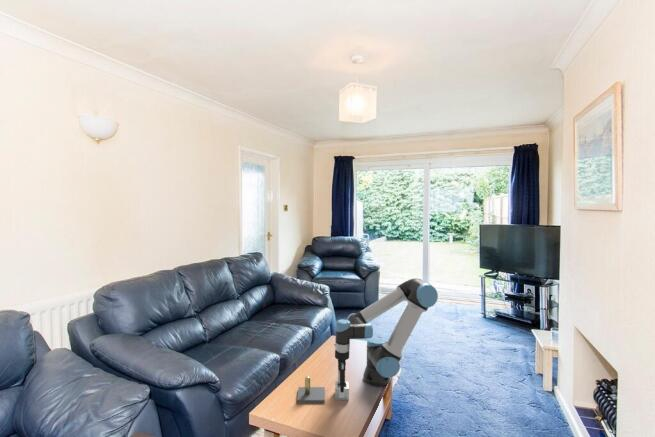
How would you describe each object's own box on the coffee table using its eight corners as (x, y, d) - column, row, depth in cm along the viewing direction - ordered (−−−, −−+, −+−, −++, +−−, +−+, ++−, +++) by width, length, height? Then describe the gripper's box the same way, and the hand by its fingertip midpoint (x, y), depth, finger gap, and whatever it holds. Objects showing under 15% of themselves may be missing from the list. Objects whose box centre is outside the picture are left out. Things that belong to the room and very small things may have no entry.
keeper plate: (324, 389, 185) (324, 387, 185) (324, 402, 173) (324, 400, 173) (298, 389, 185) (298, 387, 184) (297, 402, 173) (297, 400, 172)
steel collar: (347, 392, 182) (348, 381, 182) (348, 400, 175) (349, 388, 175) (334, 392, 182) (335, 381, 182) (335, 400, 175) (335, 388, 175)
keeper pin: (310, 391, 180) (310, 375, 179) (310, 394, 177) (310, 378, 177) (305, 391, 180) (305, 375, 179) (304, 394, 177) (304, 378, 177)
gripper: (334, 340, 190) (333, 377, 191) (336, 361, 165) (334, 403, 166) (347, 340, 190) (346, 377, 191) (351, 361, 165) (350, 404, 166)
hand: (340, 389), depth 179 cm, fingers open, 13 cm apart
